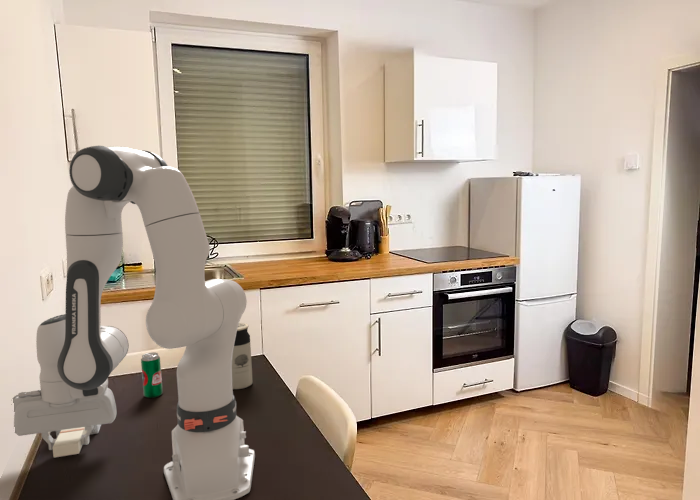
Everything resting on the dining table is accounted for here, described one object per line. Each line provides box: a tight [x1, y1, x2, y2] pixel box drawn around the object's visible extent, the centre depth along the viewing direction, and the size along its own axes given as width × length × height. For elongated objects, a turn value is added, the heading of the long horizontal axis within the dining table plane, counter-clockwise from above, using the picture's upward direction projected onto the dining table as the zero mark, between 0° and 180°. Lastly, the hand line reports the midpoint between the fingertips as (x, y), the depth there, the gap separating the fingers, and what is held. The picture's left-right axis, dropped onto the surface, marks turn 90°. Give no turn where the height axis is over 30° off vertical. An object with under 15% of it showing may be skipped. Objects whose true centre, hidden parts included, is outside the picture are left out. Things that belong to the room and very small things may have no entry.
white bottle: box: [232, 322, 253, 390], centre depth 154 cm, size 8×8×18 cm
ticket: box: [52, 427, 87, 458], centre depth 122 cm, size 16×5×2 cm, turn 17°
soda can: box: [140, 351, 163, 399], centre depth 148 cm, size 5×5×12 cm
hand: (69, 446), depth 117 cm, fingers closed on ticket, 5 cm apart
